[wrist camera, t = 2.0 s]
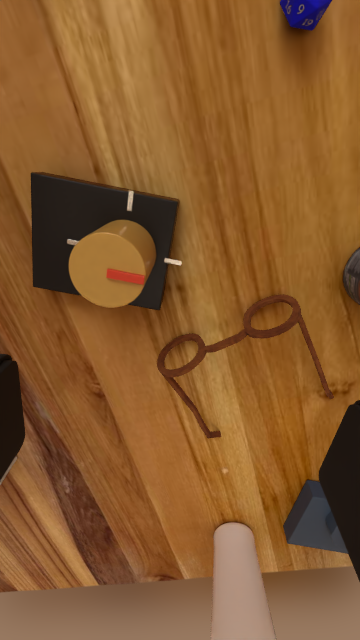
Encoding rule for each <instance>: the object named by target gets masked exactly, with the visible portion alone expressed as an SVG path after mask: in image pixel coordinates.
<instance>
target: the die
mask: <svg viewBox="0 0 360 640" xmlns="http://www.w3.org/2000/svg"><path fill="white" fill-rule="evenodd" d="M331 1H332V0H281V1H280V5H281V7H282V10H283V12H284V14H285V16H286V18H287V20H288V22H289V25H290V26H291V27H294V28H300V29H305V30H313V29H314V28H315V26H316V25H317V23H318V22H319V20H320V19H321V17H322V15H323V14H324V12H325V11H326V9H327V8H328V6H329V4H330V3H331Z"/></svg>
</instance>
